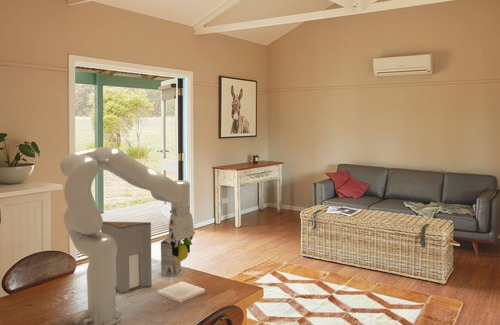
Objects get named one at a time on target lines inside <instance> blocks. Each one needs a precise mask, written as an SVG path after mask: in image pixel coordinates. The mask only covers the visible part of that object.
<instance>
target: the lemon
mask: <svg viewBox="0 0 500 325" xmlns="http://www.w3.org/2000/svg"><path fill="white" fill-rule="evenodd" d="M182 241H183V242H182ZM179 243H180V244H179ZM183 243H185V244H187V245H190V246H192V245H193V242H192V240H191V241H189V240H187V239H185V240H184V239H182V240H180V242H178V245H177V247H178V248H179V256H178V257H176V256H175V257H176V258H177V259H178V260H180V261H181V262H182V261H184V260H186V259H187V258H188V256H189V253H188V249H187V246H186V245H185V244H183ZM171 249H172V248H171Z"/></svg>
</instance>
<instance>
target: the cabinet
mask: <svg viewBox="0 0 500 325" xmlns="http://www.w3.org/2000/svg"><path fill="white" fill-rule="evenodd" d="M100 232H102V233H105V234H107V235H109V236H111V237H112V238H113V239H114V240H115V241H116V243H117V256H116V263H115V280H116V293H117V292H118V293H119V294H121V295H124V294H127V293H131V292H134V291H136V290H140V289H143V288H151V287H152V286H153V284H152V282H153V281H152V278H153V277H152V276H153V275H152V222H150V221H149V222H147V221H146V222H145V221H144V222H143V221H142V222H139V221H138V222H137V221H103V225H102V228H101V230H100Z"/></svg>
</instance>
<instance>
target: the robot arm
mask: <svg viewBox="0 0 500 325" xmlns="http://www.w3.org/2000/svg"><path fill="white" fill-rule="evenodd" d="M59 169H60V172H61V173H62V174H63V175H64V176H65V177H67V179H66V182H65V185H64V189H63V196H64V201H65V203H66V206H67V208H66V209H65V212H64V214H63V223H64V224H63V225H64V227H65V229H66V231H67V234H68V235H69V238H70V240H71V241H72V244H73V245H74V248H75V249H76V251H77V252H78V253H79V254H81V255H83V256H85V257H87V258H88V265H87V268H86V283H87V284H86V286H87V289H86V290H87V309H86V310H85V311H84V313H83V315H81V316H77V317H75V318H74V322H75V324H80V323H82V324H83V325H116V324H118V323H119V322H120V321H121V319H122V317H121V312H119V311H118V310H117V291H116V280H115V263H116V256H117V243H116V241H115V240H114V239H113V238H112V237H111V236H109V235H107V234H105V233H102V232H101V228H102V225H103V222H104V221H103V220H104V219H103V216H102V213H101V212H100V209H99V207H98V204H97V203H96V201H95V200H96V199H95V198H94V195H93V192H92V185H93V182H94V180H95V178H96V176H98V172H99V171H101V170H102V171H108V172H110V173H112V174H113V175H115V176H116V177H118V178H120V179H122V180H123V181H125V182H127V183H128V184H130V185H132V186H133V187H136V188H139V189H141V190H142V189H143V190H147V191H148V192H150V195H151V197H152V198H153V199H154V200H157V201H161V202H165V203H170V206H171V207H170V210H169V212H170V216H169V217H170V218H169V222H168V223H169V224H168V235H167V237H166V238H165V239H166V241H167V242H168V243H169V244H170V245H171V246H172V255H173V256H176V257H178V256H179V248H178V247H177V245H178V241H179V240H180V241H183V240H185V239H187V240H189V241H191V242H192V240H193V238H194V236H195V234H196V232H195V230H194V219H193V215H192V213H191V189H190V187H191V186H190V185H191V184H190V182H189V181H188V180H183V179H181V180H173V179H171V178H170V177H168V176H166V175H164V174H163V173H160V172H158V171H156V170H155V169H152V168H150V167H149V166H146V165H145V164H143V163H141V162H140V161H138V160H136V159H135V158H134V157H133V156H131V155H129V154H128V153H127V152H125V151H122V150H121V149H119V148H118V147H117V148H116V147H112V146H111V147H110V146H100V147H95V148H90V149H85V150H82V151H76V152H71V153H68V154H67V155H65V156H64V157H62V158H61V161H60V163H59ZM171 239H172V240H171ZM175 240H176V241H175ZM174 241H175V243H174ZM182 243H183V244H185V243H184V242H182ZM185 245H186V246H187V249H188V254H190V251H191V245H187V244H185Z"/></svg>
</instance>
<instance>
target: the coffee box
mask: <svg viewBox="0 0 500 325" xmlns="http://www.w3.org/2000/svg"><path fill="white" fill-rule="evenodd" d="M171 240H172V239H171ZM175 241H176V240H175ZM175 241H174V243H175ZM180 241H181V240H179V241H178V242H180ZM180 243H181V242H180ZM180 243H179V244H180ZM171 248H172V246H171V245H170V244H169V243H168V242H167V241H166V238H165V239H164V240H161V242H160V266H161V268H160V271H161V274H160V275H161V276H162V277H172V278H173V277H175V276H176V275H177V274H179V272H180V271H182V268H181V267H182V266H181V264H182V263H181V262H182V261H180V260H178V259H177V258H176V257H175V256H173V255H172V249H171Z"/></svg>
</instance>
